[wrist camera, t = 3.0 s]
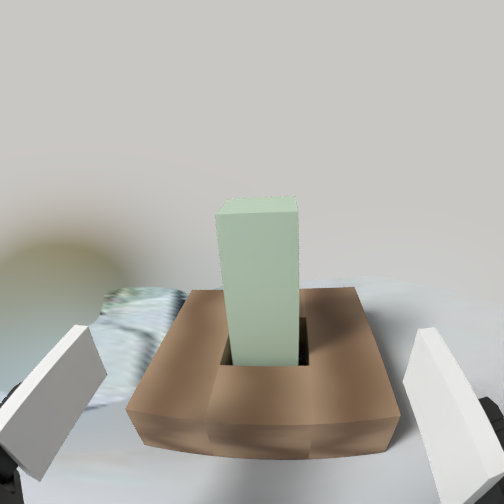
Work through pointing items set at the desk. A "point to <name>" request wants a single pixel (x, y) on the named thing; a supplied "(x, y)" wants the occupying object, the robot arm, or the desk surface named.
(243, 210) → the sage block
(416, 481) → the desk surface
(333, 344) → the pocket dock
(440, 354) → the robot arm
